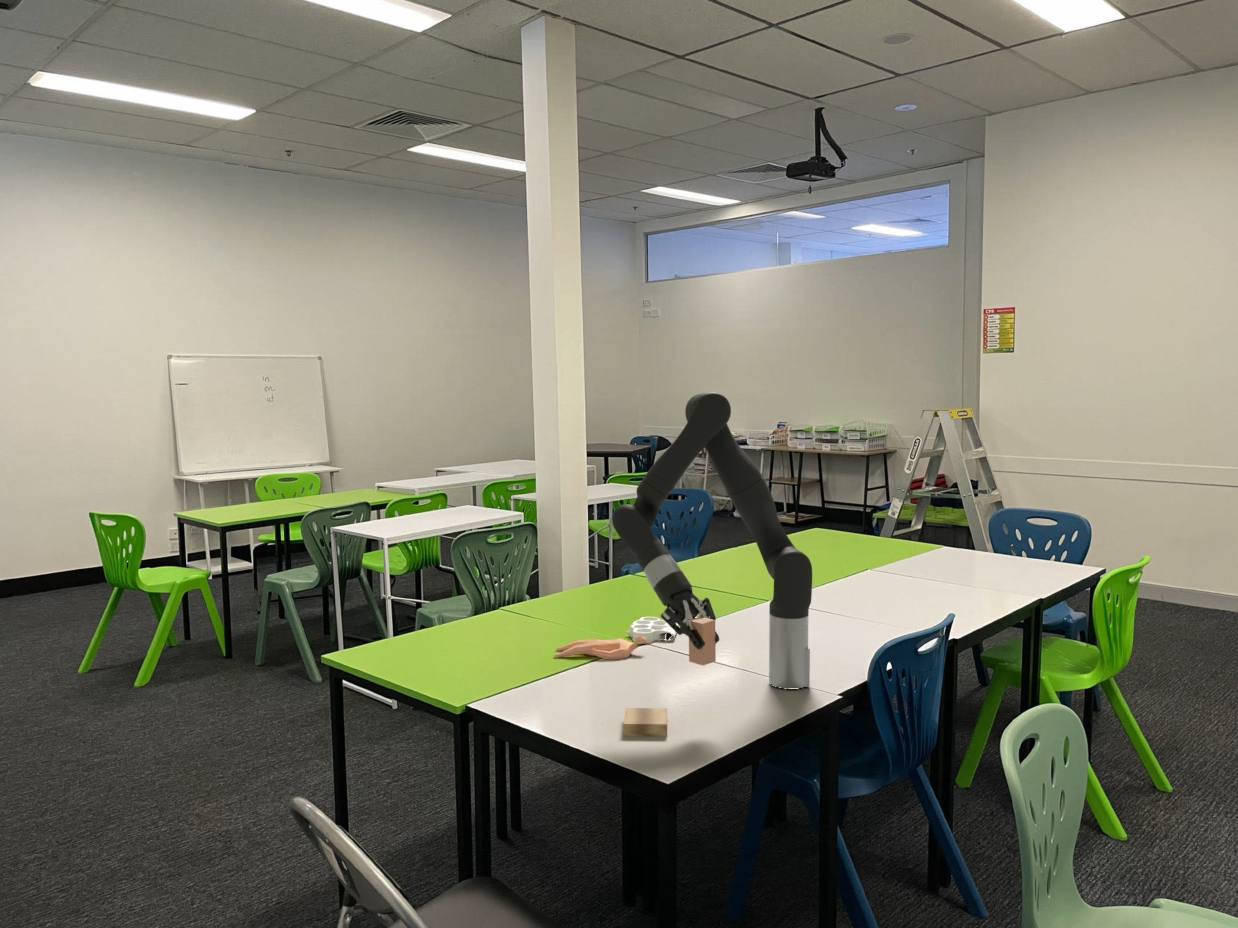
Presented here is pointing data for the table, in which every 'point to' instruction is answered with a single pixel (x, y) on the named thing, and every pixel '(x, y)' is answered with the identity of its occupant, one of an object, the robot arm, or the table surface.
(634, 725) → the base slab
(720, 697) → the table surface
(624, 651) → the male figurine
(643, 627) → the white dimpled tray
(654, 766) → the table surface
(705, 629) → the block
